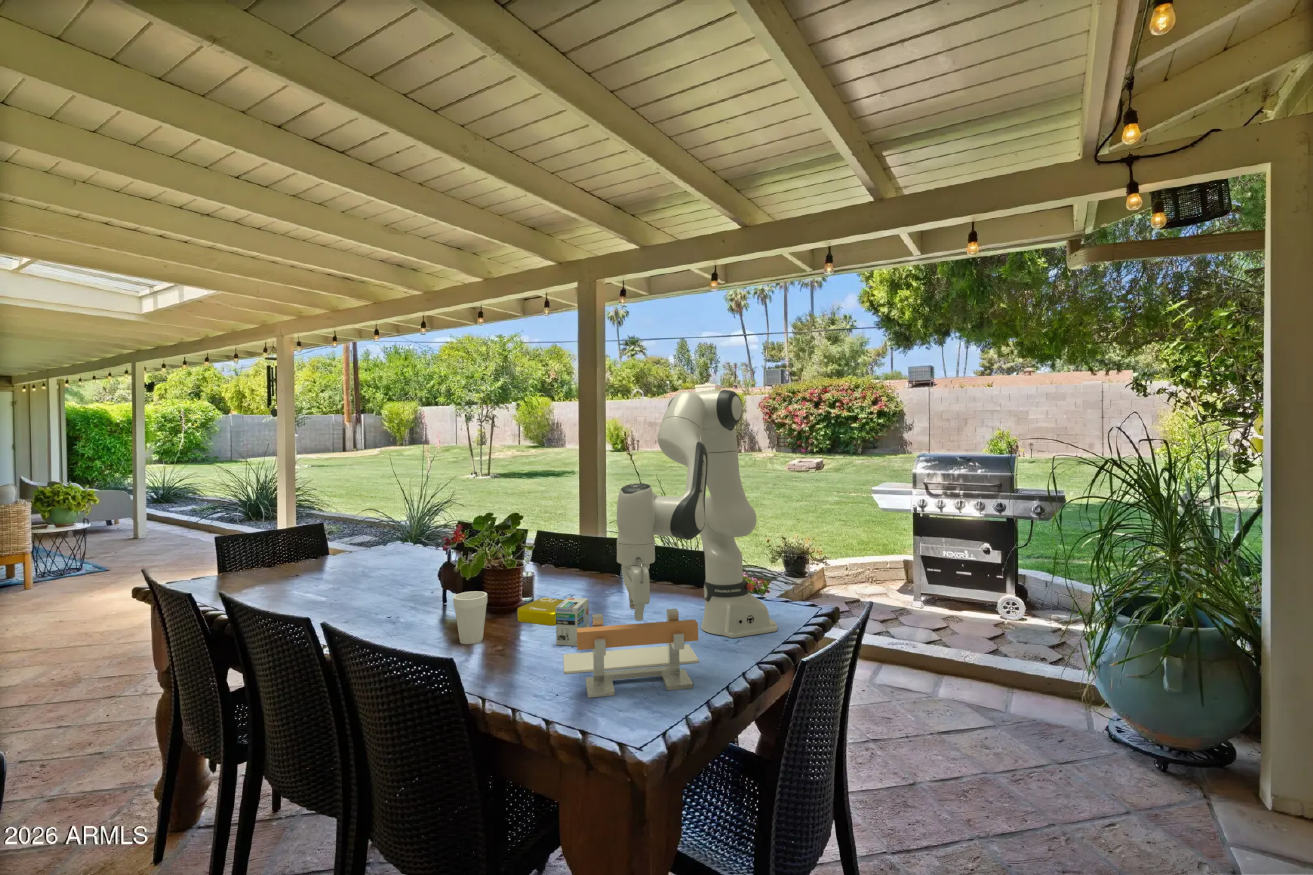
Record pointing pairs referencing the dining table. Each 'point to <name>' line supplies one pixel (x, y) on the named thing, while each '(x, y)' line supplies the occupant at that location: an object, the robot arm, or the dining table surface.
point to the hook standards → (670, 674)
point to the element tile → (539, 611)
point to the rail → (636, 634)
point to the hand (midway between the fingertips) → (636, 613)
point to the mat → (626, 659)
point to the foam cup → (470, 615)
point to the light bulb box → (571, 620)
